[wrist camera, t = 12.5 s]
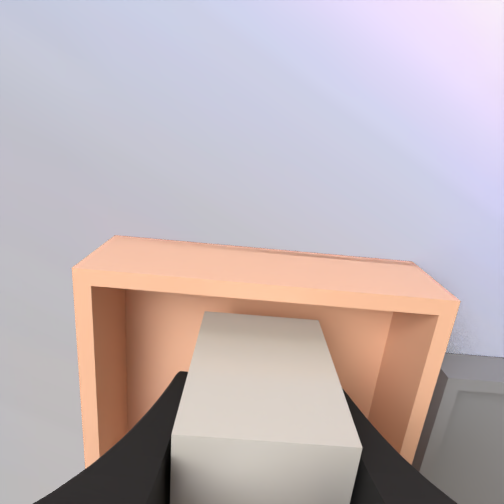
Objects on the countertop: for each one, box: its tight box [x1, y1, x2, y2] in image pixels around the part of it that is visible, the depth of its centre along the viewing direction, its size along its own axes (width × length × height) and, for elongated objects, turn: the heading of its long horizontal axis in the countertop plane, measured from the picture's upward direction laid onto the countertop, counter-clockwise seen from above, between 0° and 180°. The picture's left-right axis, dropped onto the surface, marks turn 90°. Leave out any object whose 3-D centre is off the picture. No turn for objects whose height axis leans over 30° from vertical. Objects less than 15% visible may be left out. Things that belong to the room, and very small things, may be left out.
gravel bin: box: [72, 235, 461, 469], centre depth 17 cm, size 15×13×4 cm
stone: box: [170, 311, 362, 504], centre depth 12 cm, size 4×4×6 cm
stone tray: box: [412, 353, 504, 504], centre depth 20 cm, size 16×11×2 cm
